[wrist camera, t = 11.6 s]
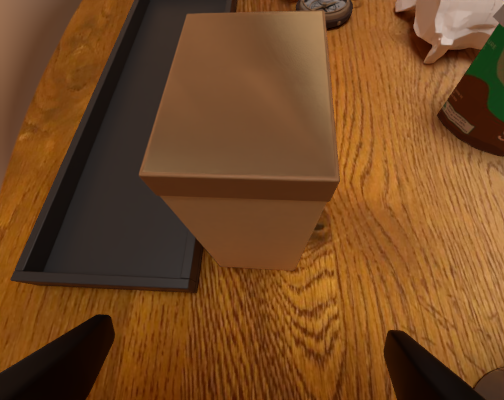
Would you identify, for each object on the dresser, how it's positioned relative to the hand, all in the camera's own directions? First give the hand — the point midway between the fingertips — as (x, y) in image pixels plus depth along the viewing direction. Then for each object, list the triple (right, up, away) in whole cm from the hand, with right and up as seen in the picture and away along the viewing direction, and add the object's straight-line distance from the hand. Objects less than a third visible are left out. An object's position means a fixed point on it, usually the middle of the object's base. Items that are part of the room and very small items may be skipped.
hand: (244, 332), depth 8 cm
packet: (+1, +3, +10) cm, 11 cm away
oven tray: (-8, +14, +17) cm, 23 cm away
